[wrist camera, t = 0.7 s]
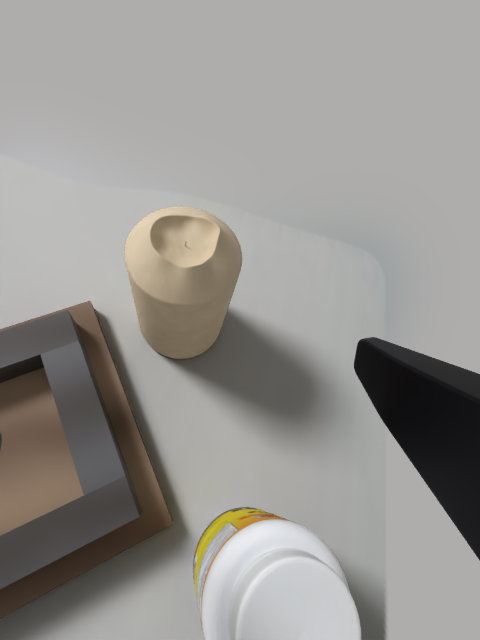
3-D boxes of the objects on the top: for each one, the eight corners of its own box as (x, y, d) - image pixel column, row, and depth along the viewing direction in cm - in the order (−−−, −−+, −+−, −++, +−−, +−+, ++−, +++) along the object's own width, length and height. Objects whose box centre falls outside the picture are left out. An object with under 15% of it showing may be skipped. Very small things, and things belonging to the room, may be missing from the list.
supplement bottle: (309, 549, 21) (418, 608, 12) (251, 650, 19) (329, 824, 9) (234, 483, 22) (280, 490, 12) (169, 574, 19) (167, 665, 10)
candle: (210, 280, 27) (230, 180, 18) (229, 350, 25) (262, 279, 16) (133, 292, 25) (111, 191, 16) (147, 368, 23) (132, 301, 14)
